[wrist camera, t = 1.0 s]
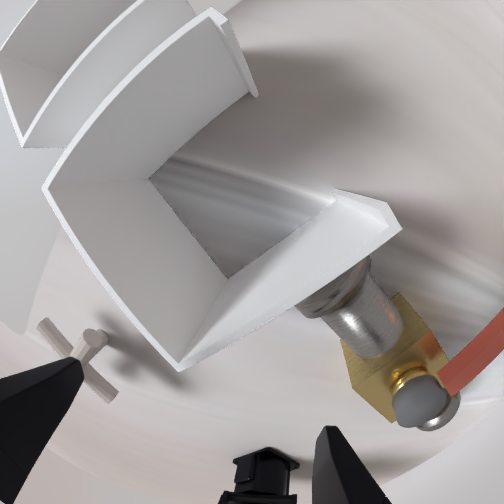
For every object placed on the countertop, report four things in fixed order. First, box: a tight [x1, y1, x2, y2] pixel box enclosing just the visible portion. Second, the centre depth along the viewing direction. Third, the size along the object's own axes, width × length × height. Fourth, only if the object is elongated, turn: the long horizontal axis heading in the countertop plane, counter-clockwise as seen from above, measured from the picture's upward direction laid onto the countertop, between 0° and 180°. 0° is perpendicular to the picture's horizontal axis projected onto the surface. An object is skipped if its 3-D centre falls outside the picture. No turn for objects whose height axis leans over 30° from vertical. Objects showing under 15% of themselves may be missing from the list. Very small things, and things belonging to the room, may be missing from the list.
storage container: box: [0, 0, 402, 372], centre depth 14 cm, size 25×11×11 cm, turn 38°
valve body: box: [294, 255, 461, 431], centre depth 18 cm, size 20×6×7 cm, turn 44°
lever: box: [392, 308, 504, 428], centre depth 12 cm, size 15×4×2 cm, turn 134°
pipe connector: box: [37, 318, 119, 404], centre depth 21 cm, size 10×10×10 cm
